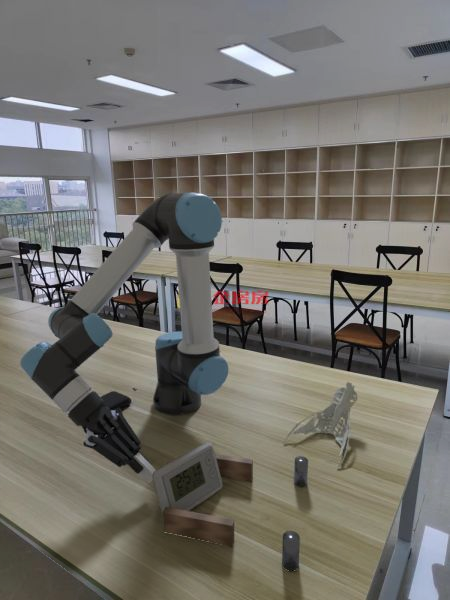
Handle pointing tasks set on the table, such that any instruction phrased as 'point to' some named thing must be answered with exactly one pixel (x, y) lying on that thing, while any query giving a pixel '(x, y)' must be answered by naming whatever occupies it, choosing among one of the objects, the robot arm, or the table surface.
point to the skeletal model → (332, 417)
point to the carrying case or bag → (115, 400)
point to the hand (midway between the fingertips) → (153, 478)
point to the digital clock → (188, 479)
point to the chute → (210, 525)
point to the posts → (290, 537)
